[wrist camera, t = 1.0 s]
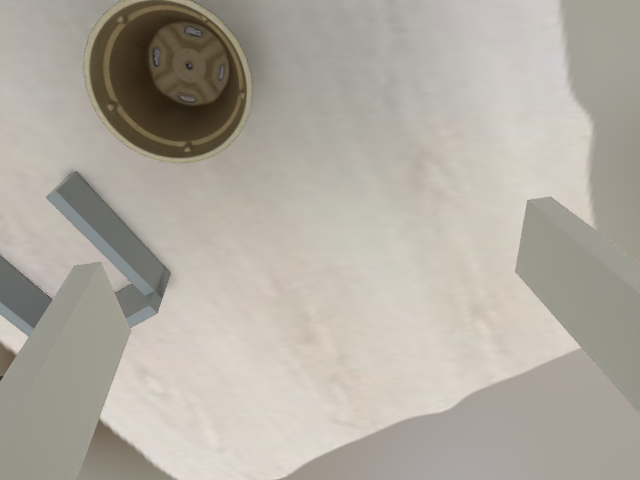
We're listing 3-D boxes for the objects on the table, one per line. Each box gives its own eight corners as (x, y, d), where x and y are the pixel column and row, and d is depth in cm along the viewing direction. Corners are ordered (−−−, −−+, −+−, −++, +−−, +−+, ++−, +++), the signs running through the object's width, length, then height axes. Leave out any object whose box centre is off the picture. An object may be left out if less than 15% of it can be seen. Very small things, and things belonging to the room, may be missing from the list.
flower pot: (236, -20, 30) (227, -23, 23) (267, 114, 35) (268, 147, 28) (103, 6, 30) (51, 11, 23) (152, 137, 35) (122, 176, 28)
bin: (-33, 240, 37) (-81, 279, 32) (76, 171, 36) (44, 201, 30) (72, 328, 43) (46, 374, 38) (170, 273, 41) (157, 313, 36)
